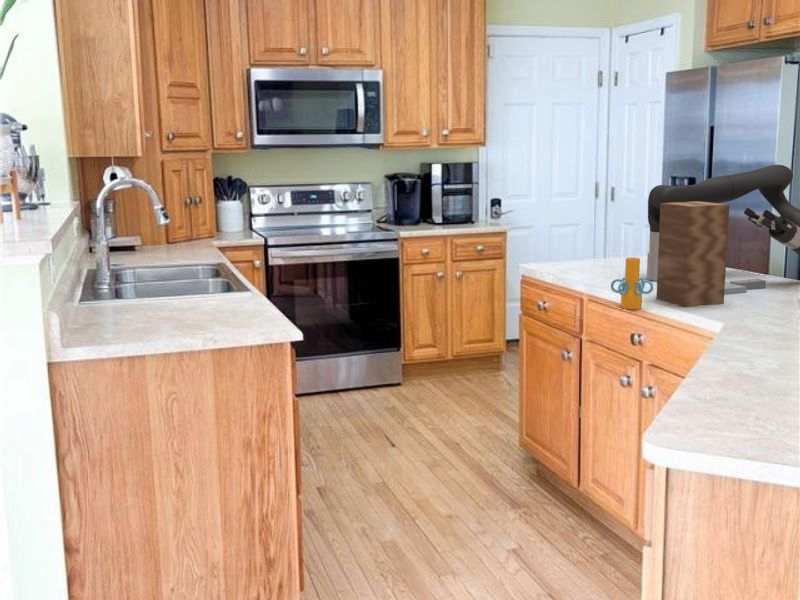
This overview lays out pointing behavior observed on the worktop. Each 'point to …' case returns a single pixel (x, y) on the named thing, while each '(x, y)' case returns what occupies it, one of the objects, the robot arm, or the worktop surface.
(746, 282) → the lid
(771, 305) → the worktop surface
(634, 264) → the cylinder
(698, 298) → the post
